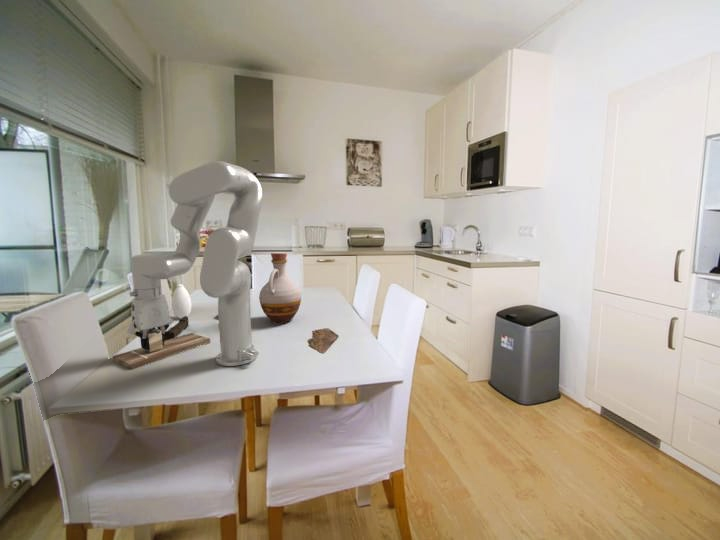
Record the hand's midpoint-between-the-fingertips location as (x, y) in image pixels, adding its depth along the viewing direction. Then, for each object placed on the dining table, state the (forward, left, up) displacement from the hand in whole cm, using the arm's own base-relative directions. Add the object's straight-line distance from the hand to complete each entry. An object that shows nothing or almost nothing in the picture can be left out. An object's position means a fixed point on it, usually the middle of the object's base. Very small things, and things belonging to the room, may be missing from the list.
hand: (153, 346), depth 113 cm
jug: (-9, -49, -3) cm, 49 cm away
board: (0, -4, -3) cm, 4 cm away
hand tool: (+15, -17, -3) cm, 23 cm away
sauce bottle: (+32, -29, -3) cm, 43 cm away
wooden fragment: (-39, -41, -3) cm, 56 cm away
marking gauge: (0, 0, -1) cm, 1 cm away
